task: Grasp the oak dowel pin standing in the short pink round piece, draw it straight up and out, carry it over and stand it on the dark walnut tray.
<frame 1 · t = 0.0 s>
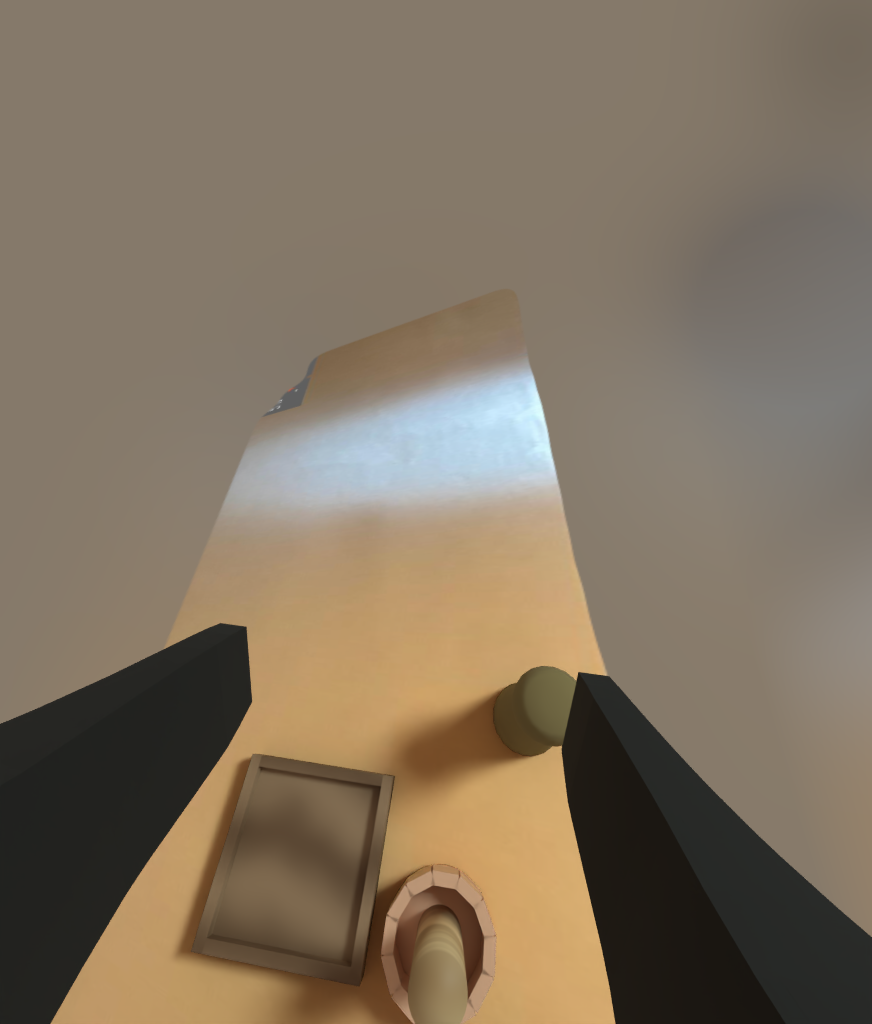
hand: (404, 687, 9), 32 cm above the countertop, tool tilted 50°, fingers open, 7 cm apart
dowel pin: (439, 934, 30), point 1 cm above the countertop, touching pink round piece
pink round piece: (439, 931, 30), on the countertop
cork: (526, 717, 38), on the countertop
walnut tray: (306, 853, 33), on the countertop
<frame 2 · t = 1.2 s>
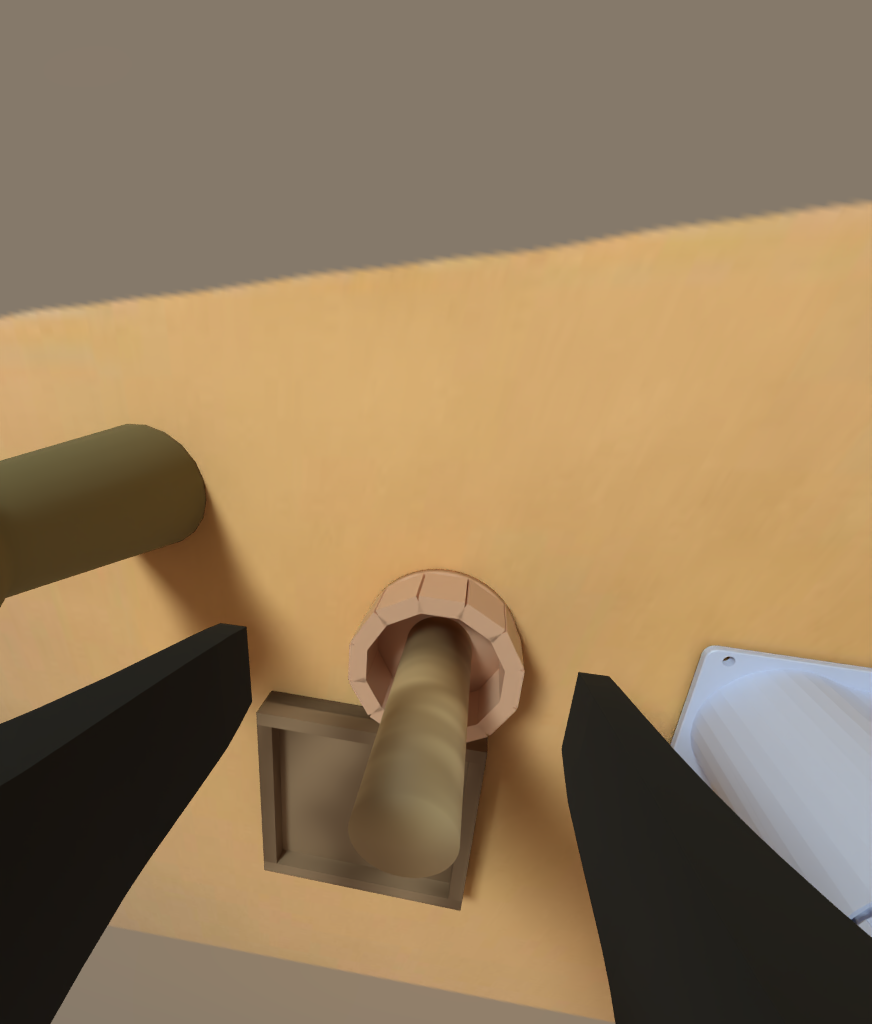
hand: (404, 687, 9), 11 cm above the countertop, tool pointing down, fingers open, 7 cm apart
dowel pin: (439, 645, 20), point 1 cm above the countertop, touching pink round piece
pink round piece: (440, 638, 21), on the countertop
cork: (150, 485, 20), on the countertop
walnut tray: (372, 790, 24), on the countertop
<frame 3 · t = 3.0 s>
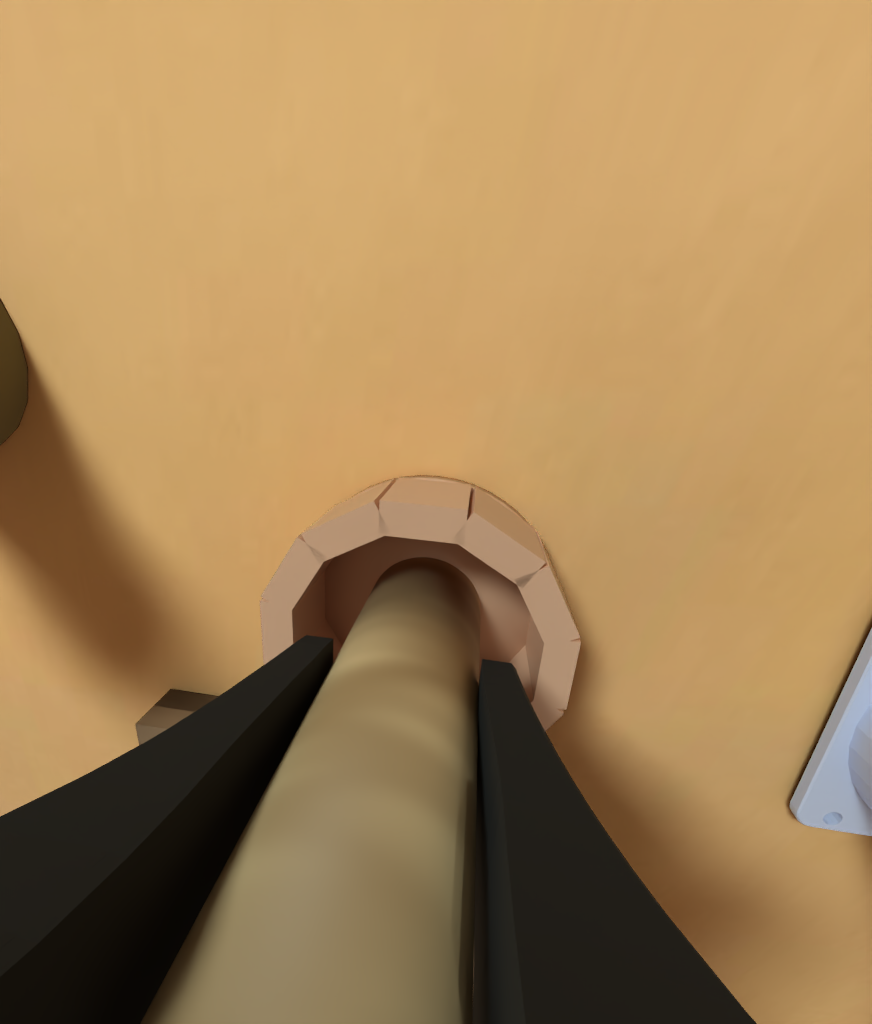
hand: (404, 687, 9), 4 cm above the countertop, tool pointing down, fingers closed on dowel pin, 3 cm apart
dowel pin: (425, 607, 12), point 1 cm above the countertop, touching gripper, pink round piece
pink round piece: (427, 597, 13), on the countertop
walnut tray: (332, 835, 16), on the countertop
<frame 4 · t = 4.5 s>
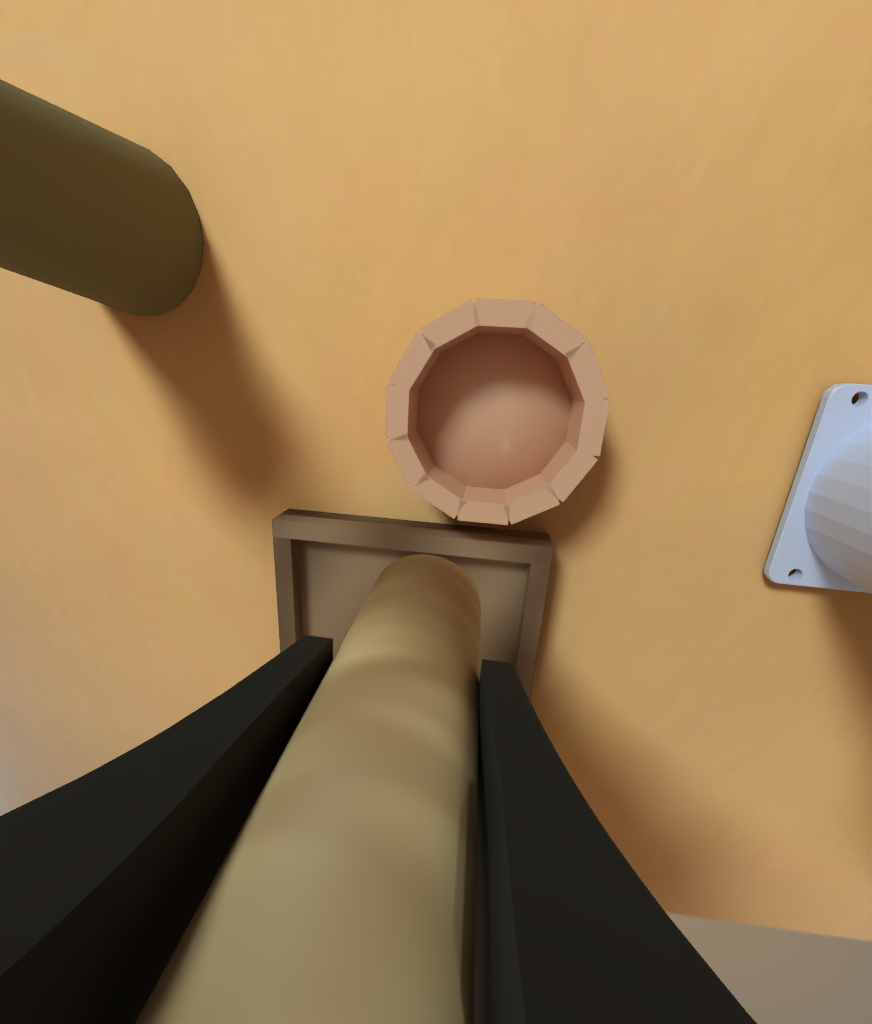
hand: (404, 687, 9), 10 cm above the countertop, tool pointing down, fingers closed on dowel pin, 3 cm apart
dowel pin: (425, 605, 12), point 7 cm above the countertop, touching gripper
pink round piece: (492, 413, 17), on the countertop
cork: (135, 235, 17), on the countertop
walnut tray: (409, 633, 21), on the countertop
when the fingers open (5 cm above the countertop, at t = 6.1 s): dowel pin drops 1 cm, resting on walnut tray.
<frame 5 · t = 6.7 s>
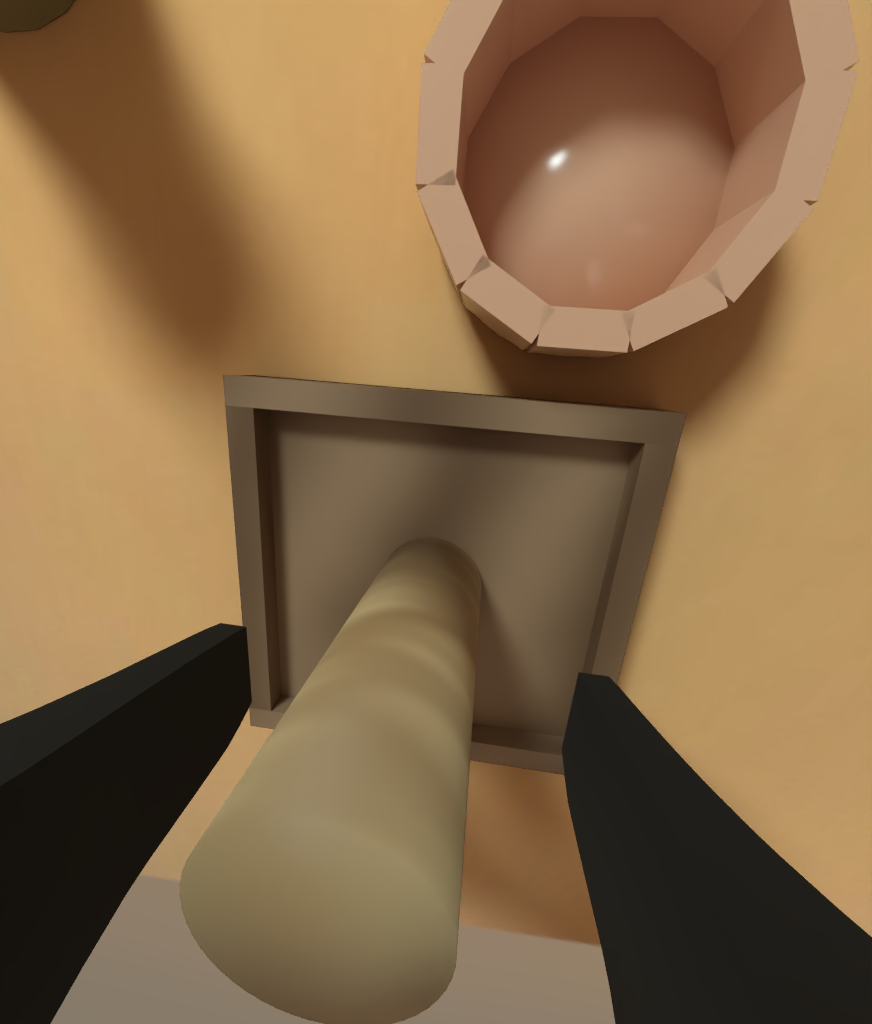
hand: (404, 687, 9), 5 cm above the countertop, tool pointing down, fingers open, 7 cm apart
dowel pin: (430, 585, 13), point 1 cm above the countertop, touching walnut tray
pink round piece: (585, 194, 10), on the countertop
walnut tray: (433, 575, 14), on the countertop
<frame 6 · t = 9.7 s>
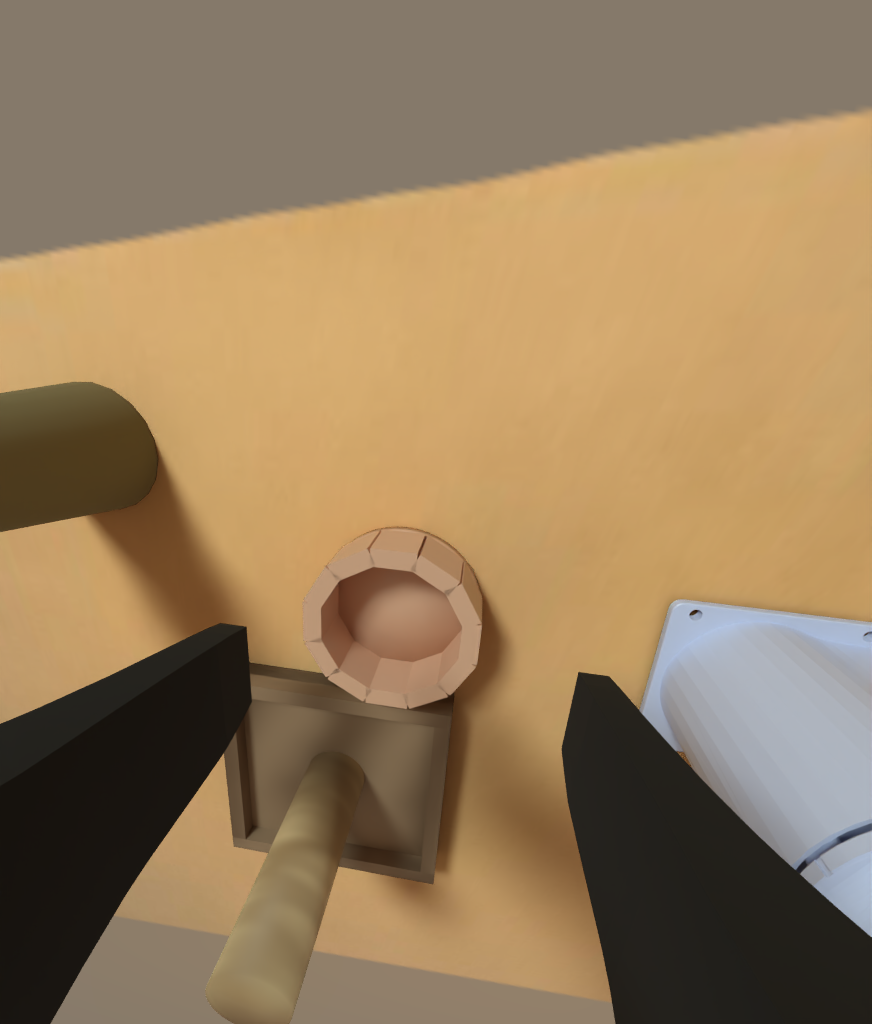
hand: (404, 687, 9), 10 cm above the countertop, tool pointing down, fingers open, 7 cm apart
dowel pin: (336, 774, 23), point 1 cm above the countertop, touching walnut tray
pink round piece: (402, 600, 20), on the countertop
cork: (101, 447, 20), on the countertop
walnut tray: (341, 762, 24), on the countertop
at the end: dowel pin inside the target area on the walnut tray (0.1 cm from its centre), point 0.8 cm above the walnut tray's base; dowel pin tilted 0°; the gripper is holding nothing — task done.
